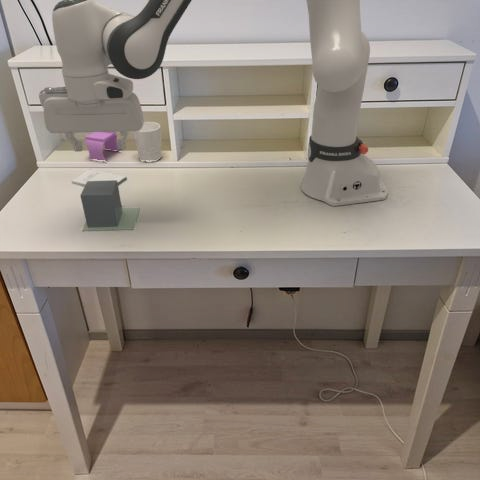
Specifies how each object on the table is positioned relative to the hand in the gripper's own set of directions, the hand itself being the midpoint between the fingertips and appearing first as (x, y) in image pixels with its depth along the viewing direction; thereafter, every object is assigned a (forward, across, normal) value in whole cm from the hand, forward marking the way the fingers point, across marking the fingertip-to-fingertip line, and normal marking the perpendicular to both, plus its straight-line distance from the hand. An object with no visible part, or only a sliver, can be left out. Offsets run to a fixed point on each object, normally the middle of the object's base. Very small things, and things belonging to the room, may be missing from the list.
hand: (100, 149), depth 103 cm
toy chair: (+18, -9, +37) cm, 42 cm away
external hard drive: (+19, -8, +20) cm, 29 cm away
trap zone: (+18, 0, 0) cm, 18 cm away
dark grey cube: (+18, -2, 0) cm, 18 cm away
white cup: (+18, +5, +35) cm, 40 cm away
